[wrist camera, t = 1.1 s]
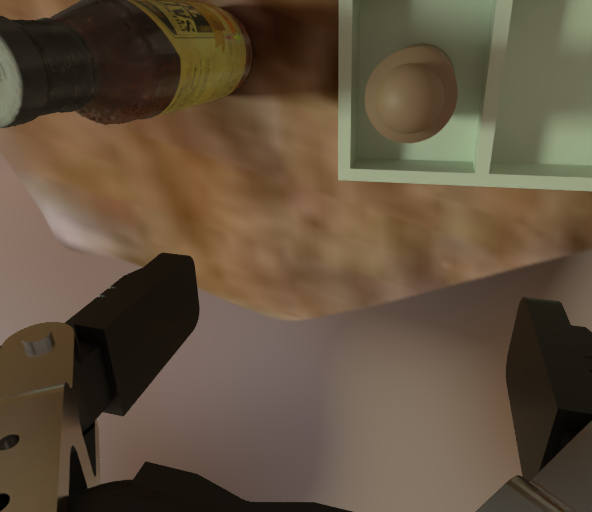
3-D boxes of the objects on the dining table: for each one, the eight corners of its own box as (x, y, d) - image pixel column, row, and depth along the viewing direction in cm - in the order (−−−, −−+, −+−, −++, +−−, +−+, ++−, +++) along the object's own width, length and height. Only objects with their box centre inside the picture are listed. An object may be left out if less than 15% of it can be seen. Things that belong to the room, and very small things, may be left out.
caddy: (350, -20, 31) (300, -46, 20) (680, -42, 26) (843, -91, 15) (348, 165, 36) (307, 222, 25) (624, 175, 31) (717, 251, 20)
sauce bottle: (260, 11, 33) (55, -9, 16) (252, 104, 36) (71, 174, 18) (174, -3, 34) (-105, -36, 17) (172, 88, 37) (-68, 141, 20)
